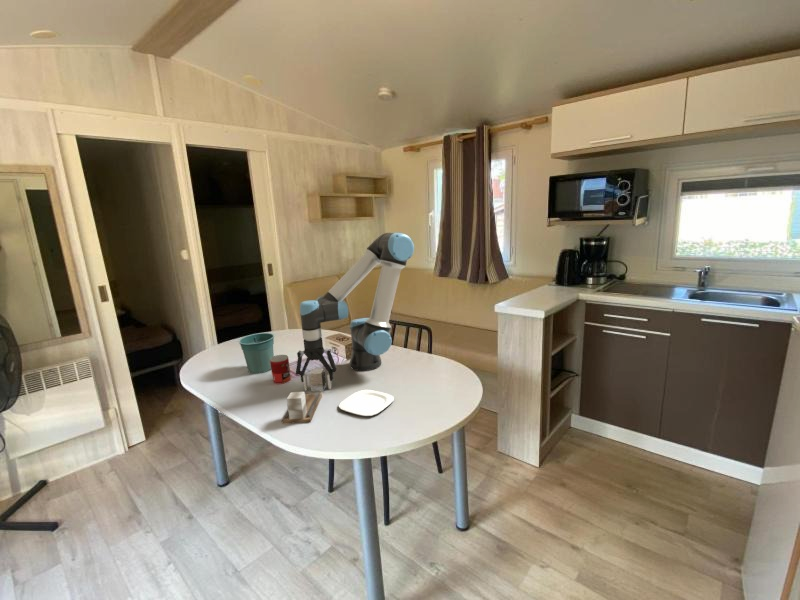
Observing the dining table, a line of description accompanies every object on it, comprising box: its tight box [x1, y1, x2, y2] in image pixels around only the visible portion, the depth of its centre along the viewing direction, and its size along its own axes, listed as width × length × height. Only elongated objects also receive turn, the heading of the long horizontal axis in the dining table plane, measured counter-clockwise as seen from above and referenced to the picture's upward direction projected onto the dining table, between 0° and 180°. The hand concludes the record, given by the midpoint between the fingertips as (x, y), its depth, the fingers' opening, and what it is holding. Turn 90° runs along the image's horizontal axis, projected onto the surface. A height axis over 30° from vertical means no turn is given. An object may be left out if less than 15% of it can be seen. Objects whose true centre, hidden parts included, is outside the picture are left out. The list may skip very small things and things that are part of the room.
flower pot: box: [238, 332, 275, 375], centre depth 184 cm, size 16×16×16 cm
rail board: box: [281, 391, 323, 425], centre depth 142 cm, size 10×20×9 cm, turn 0°
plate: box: [338, 389, 395, 417], centre depth 144 cm, size 18×18×2 cm
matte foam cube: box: [309, 368, 327, 393], centre depth 159 cm, size 6×5×8 cm
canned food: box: [270, 354, 292, 385], centre depth 170 cm, size 8×8×11 cm
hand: (318, 388), depth 160 cm, fingers open, 9 cm apart
